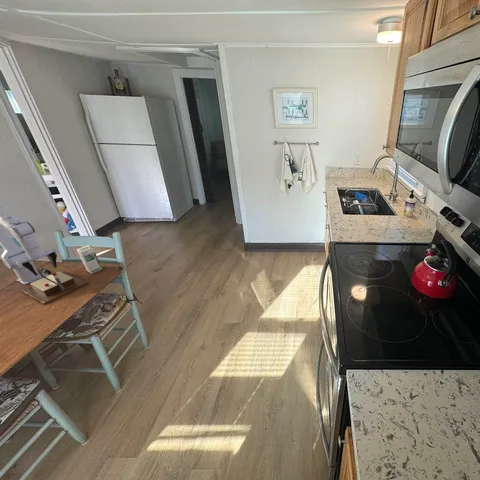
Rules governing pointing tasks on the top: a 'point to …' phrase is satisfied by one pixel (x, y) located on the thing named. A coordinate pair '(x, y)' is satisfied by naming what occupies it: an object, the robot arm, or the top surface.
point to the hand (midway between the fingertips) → (45, 270)
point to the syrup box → (89, 259)
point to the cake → (52, 284)
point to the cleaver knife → (48, 274)
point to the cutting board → (53, 296)
